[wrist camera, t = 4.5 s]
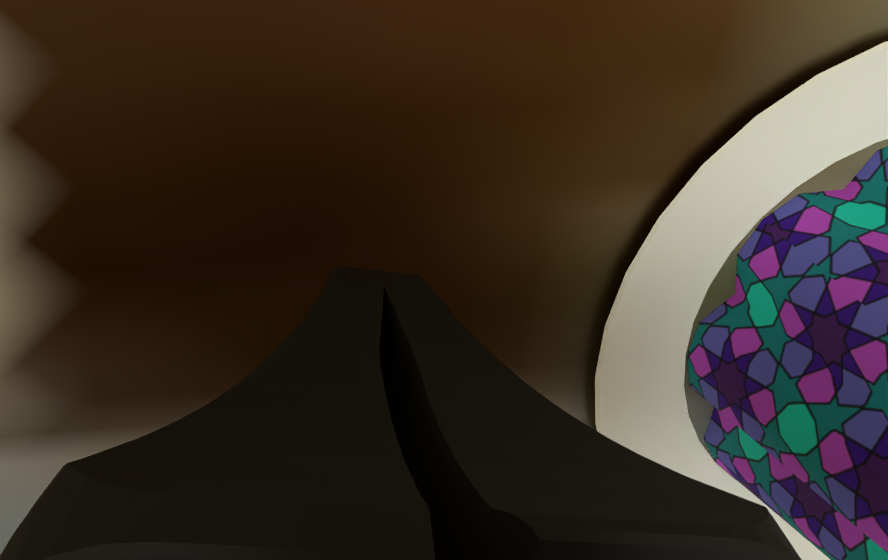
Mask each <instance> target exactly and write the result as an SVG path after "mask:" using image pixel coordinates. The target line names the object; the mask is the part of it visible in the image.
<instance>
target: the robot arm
mask: <svg viewBox="0 0 888 560" xmlns="http://www.w3.org/2000/svg"><path fill="white" fill-rule="evenodd" d="M0 560H801V558H800V557H799V555H798V554H797V552H796V551H795V549H794V548H793V546H792V545H791V543H790V542H789V540H788V539H787V537H786V536H785V534H784V533H783V531H782V530H781V528H780V527H779V525H778V524H777V522H776V521H775V519H774V518H773V516H772V515H771V513H770V512H769V511H768V509H767V508H766V507H765V506H762V505H760V504H757V503H754V502H752V501H749V500H747V499H744V498H741V497H739V496H736V495H734V494H731V493H728V492H726V491H723V490H720V489H718V488H715V487H713V486H710V485H707V484H705V483H702V482H700V481H697V480H694V479H692V478H689V477H687V476H685V475H682V474H680V473H678V472H676V471H673V470H671V469H669V468H667V467H665V466H663V465H661V464H659V463H656V462H654V461H652V460H650V459H648V458H646V457H644V456H642V455H640V454H638V453H636V452H634V451H632V450H630V449H628V448H626V447H624V446H622V445H620V444H619V443H617V442H615V441H613V440H611V439H609V438H608V437H606V436H604V435H603V434H601V433H599V432H598V431H596V430H594V429H592V428H591V427H589V426H587V425H586V424H584V423H582V422H581V421H579V420H577V419H576V418H574V417H573V416H571V415H570V414H568V413H567V412H565V411H564V410H562V409H560V408H559V407H558V406H556V405H555V404H553V403H552V402H551V401H549V400H548V399H547V398H545V397H544V396H542V395H541V394H540V393H538V392H537V391H536V390H534V389H533V388H532V387H530V386H529V385H528V384H526V383H525V382H524V381H523V380H521V379H520V378H519V377H518V376H516V375H515V374H514V373H513V372H512V371H511V370H509V369H508V368H507V367H506V366H505V365H504V364H503V363H502V362H501V361H499V360H498V359H497V358H496V357H495V356H494V355H493V354H492V353H491V352H490V351H488V350H487V349H486V348H485V347H484V346H483V345H482V344H481V343H480V342H479V341H478V340H477V339H476V338H475V337H474V336H473V335H472V334H471V333H470V332H469V331H468V329H467V328H466V327H465V326H464V325H463V324H462V323H461V322H460V321H459V320H458V319H457V318H456V317H455V315H454V314H453V313H452V312H451V311H450V310H449V309H448V308H447V306H446V305H445V304H444V303H443V302H442V301H441V300H440V298H439V297H438V296H437V295H436V294H435V293H434V291H433V290H432V289H431V288H430V287H429V286H428V284H427V283H426V282H425V281H424V280H423V279H422V278H421V277H420V276H419V275H410V274H401V273H393V272H384V271H375V270H366V269H357V268H348V267H339V266H338V267H336V268H335V269H333V270H332V271H331V272H329V278H328V280H327V283H326V285H325V287H324V289H323V291H322V292H321V294H320V296H319V297H318V299H317V301H316V302H315V304H314V305H313V306H312V308H311V309H310V310H309V312H308V313H307V315H306V316H305V317H304V319H303V320H302V321H301V323H300V324H299V325H298V326H297V327H296V329H295V330H294V331H293V332H292V333H291V334H290V335H289V336H288V337H287V338H286V340H285V341H284V342H283V343H282V344H281V345H280V346H279V347H278V348H277V349H276V350H275V351H274V352H273V353H272V354H271V355H270V356H269V357H268V358H267V359H266V360H265V361H264V362H263V363H262V364H261V365H260V366H258V367H257V368H256V369H255V370H254V371H252V372H251V373H250V374H249V375H248V376H246V377H245V378H244V379H243V380H242V381H240V382H239V383H238V384H236V385H235V386H233V387H232V388H231V389H229V390H228V391H226V392H225V393H224V394H222V395H221V396H219V397H218V398H216V399H215V400H213V401H212V402H210V403H209V404H207V405H206V406H204V407H202V408H200V409H199V410H197V411H195V412H193V413H191V414H189V415H187V416H185V417H184V418H182V419H180V420H178V421H176V422H174V423H171V424H169V425H167V426H165V427H163V428H161V429H159V430H156V431H154V432H152V433H150V434H147V435H145V436H143V437H140V438H138V439H135V440H133V441H130V442H127V443H124V444H122V445H119V446H116V447H113V448H110V449H108V450H105V451H102V452H99V453H97V454H94V455H91V456H88V457H85V458H83V459H79V460H76V461H73V462H70V463H67V464H66V465H65V466H63V467H62V469H61V470H60V471H59V473H58V474H57V475H56V476H55V478H54V479H53V480H52V482H51V483H50V484H49V486H48V487H47V488H46V490H45V491H44V492H43V494H42V495H41V496H40V497H39V499H38V500H37V501H36V503H35V504H34V506H33V507H32V509H31V510H30V512H29V513H28V515H27V516H26V517H25V519H24V520H23V521H22V523H21V524H20V525H19V527H18V528H17V530H16V531H15V533H14V534H13V536H12V537H11V539H10V540H9V542H8V544H7V545H6V547H5V549H4V550H3V552H2V554H1V555H0Z"/></svg>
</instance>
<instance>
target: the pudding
mask: <svg viewBox="0 0 888 560" xmlns="http://www.w3.org/2000/svg"><path fill="white" fill-rule="evenodd" d="M886 139H888V41H886V42H883V43H881V44H879V45H877V46H875V47H873V48H871V49H869V50H867V51H865V52H863V53H861V54H859V55H857V56H855V57H853V58H850V59H848V60H846V61H844V62H842V63H840V64H838V65H836V66H834V67H832V68H830V69H828V70H826V71H824V72H822V73H819V74H817V75H816V76H814V77H813V78H811V79H810V80H809V81H807V82H806V83H804V84H803V85H801V86H800V87H798V88H797V89H795V90H794V91H792V92H791V93H789V94H788V95H786V96H785V97H783V98H782V99H780V100H779V101H778V102H776V103H775V104H773V105H772V106H770V107H769V108H767V109H766V110H764V111H763V112H761V113H760V114H758V115H757V116H755V117H754V118H753V119H752V120H751V121H750V122H749V123H748V124H747V125H746V126H744V127H743V128H742V129H741V130H740V131H739V132H738V133H737V134H736V135H735V136H733V137H732V138H731V139H730V140H729V141H728V142H727V143H726V144H725V145H724V146H722V147H721V148H720V149H719V150H718V151H717V152H716V153H715V154H714V155H713V156H711V157H710V158H709V159H708V160H707V161H706V162H705V163H704V164H703V165H702V166H701V167H700V168H699V169H698V171H697V172H696V173H695V174H694V175H693V177H692V178H691V179H690V180H689V181H688V183H687V184H686V185H685V186H684V187H683V189H682V190H681V191H680V192H679V194H678V195H677V196H676V197H675V198H674V200H673V201H672V202H671V203H670V204H669V206H668V207H667V208H666V209H665V211H664V212H663V213H662V214H661V215H660V217H659V218H658V219H657V221H656V223H655V224H654V226H653V228H652V230H651V231H650V233H649V235H648V236H647V238H646V240H645V241H644V243H643V245H642V246H641V248H640V250H639V251H638V253H637V255H636V256H635V258H634V260H633V261H632V263H631V265H630V266H629V268H628V270H627V271H626V273H625V276H624V279H623V281H622V284H621V286H620V289H619V291H618V294H617V296H616V299H615V301H614V304H613V307H612V309H611V312H610V314H609V317H608V319H607V322H606V324H605V328H604V333H603V338H602V343H601V349H600V354H599V359H598V364H597V369H596V374H595V424H596V428H597V431H598V432H599V433H601V434H603V435H604V436H606V437H608V438H609V439H611V440H613V441H615V442H617V443H619V444H620V445H622V446H624V447H626V448H628V449H630V450H632V451H634V452H636V453H638V454H640V455H642V456H644V457H646V458H648V459H650V460H652V461H654V462H656V463H659V464H661V465H663V466H665V467H667V468H669V469H671V470H673V471H676V472H678V473H680V474H682V475H685V476H687V477H689V478H692V479H694V480H697V481H700V482H702V483H705V484H707V485H710V486H713V487H715V488H718V489H720V490H723V491H726V492H728V493H731V494H734V495H736V496H739V497H741V498H744V499H747V500H749V501H752V502H754V503H757V504H760V505H762V506H765V507H766V508H767V509H768V511H769V512H770V513H771V515H772V516H773V518H774V519H775V521H776V522H777V524H778V525H779V527H780V528H781V530H782V531H783V533H784V534H785V536H786V537H787V539H788V540H789V542H790V543H791V545H792V546H793V548H794V549H795V551H796V552H797V554H798V555H799V557H800V558H801V560H888V146H887V147H885V148H882V149H880V150H877V151H876V153H875V154H874V155H873V156H872V157H871V158H870V160H869V161H868V162H867V163H866V164H865V165H864V167H863V168H862V169H861V170H860V171H859V172H858V174H857V175H856V176H855V177H854V178H853V179H852V181H851V182H850V183H849V184H848V185H847V186H846V188H845V189H844V190H834V191H823V192H813V193H803V194H798V195H797V196H795V197H794V198H793V199H791V200H790V201H788V202H787V203H786V204H784V205H783V206H781V207H780V208H779V209H777V210H776V211H774V212H773V213H771V214H770V215H769V216H767V217H766V218H764V219H763V220H762V221H761V223H760V224H759V225H758V227H757V228H756V229H755V231H754V232H753V234H752V235H751V236H750V238H749V239H748V240H747V242H746V243H745V245H744V246H743V247H742V249H741V250H740V251H739V253H738V254H737V273H736V294H735V295H733V296H732V297H731V298H729V299H728V300H727V301H726V302H724V303H723V304H722V305H721V306H719V307H718V308H717V309H716V310H714V311H713V312H712V313H710V314H709V315H708V316H707V317H705V318H704V319H703V320H702V321H700V323H699V326H698V328H697V331H696V333H695V336H694V338H693V341H692V343H691V346H690V349H689V351H688V354H687V361H688V373H689V385H690V386H691V387H692V388H693V389H694V390H695V391H697V392H698V393H699V394H700V395H701V396H702V397H704V398H705V399H706V400H707V401H708V402H710V403H711V404H712V405H713V406H714V410H713V413H712V416H711V419H710V422H709V425H708V428H707V431H706V434H705V437H704V440H705V442H706V444H707V446H708V448H709V450H710V452H711V454H712V456H713V458H714V460H715V462H716V463H717V464H718V465H717V464H716V463H715V462H714V460H713V459H712V458H711V456H710V455H709V454H708V452H707V451H706V450H705V448H704V447H703V445H702V444H701V443H700V441H699V439H698V437H697V434H696V432H695V430H694V427H693V425H692V422H691V420H690V418H689V414H688V408H687V402H686V396H685V390H684V375H685V355H686V351H687V347H688V343H689V339H690V335H691V331H692V327H693V323H694V320H695V317H696V315H697V313H698V311H699V308H700V306H701V304H702V302H703V299H704V297H705V295H706V293H707V290H708V288H709V286H710V284H711V283H712V281H713V280H714V278H715V277H716V275H717V273H718V272H719V270H720V269H721V267H722V266H723V264H724V263H725V261H726V259H727V258H728V256H729V255H730V253H731V252H732V251H733V249H734V248H735V247H736V246H737V245H738V244H739V242H740V241H741V240H742V239H743V238H744V237H745V236H746V234H747V233H748V232H749V231H750V230H751V229H752V228H753V226H754V225H755V224H756V223H757V222H758V221H759V220H760V218H761V217H763V216H764V215H765V214H766V213H767V212H768V211H770V210H771V209H772V208H773V207H774V206H775V205H776V204H778V203H779V202H780V201H781V200H782V199H783V198H784V197H786V196H787V195H788V194H789V193H790V192H791V191H792V190H794V189H795V188H796V187H798V186H799V185H801V184H802V183H804V182H805V181H807V180H808V179H810V178H811V177H813V176H814V175H816V174H817V173H819V172H820V171H822V170H823V169H825V168H827V167H828V166H830V165H831V164H833V163H834V162H836V161H838V160H840V159H842V158H845V157H847V156H849V155H851V154H853V153H855V152H857V151H859V150H861V149H864V148H866V147H868V146H870V145H872V144H874V143H876V142H879V141H883V140H886ZM719 465H720V466H721V467H722V468H723V469H724V470H725V471H724V470H723V469H722V468H721V467H720V466H719ZM726 471H727V472H728V473H729V474H730V475H731V476H733V477H734V478H735V479H736V480H735V479H734V478H733V477H731V476H730V475H729V474H728V473H727V472H726Z"/></svg>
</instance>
